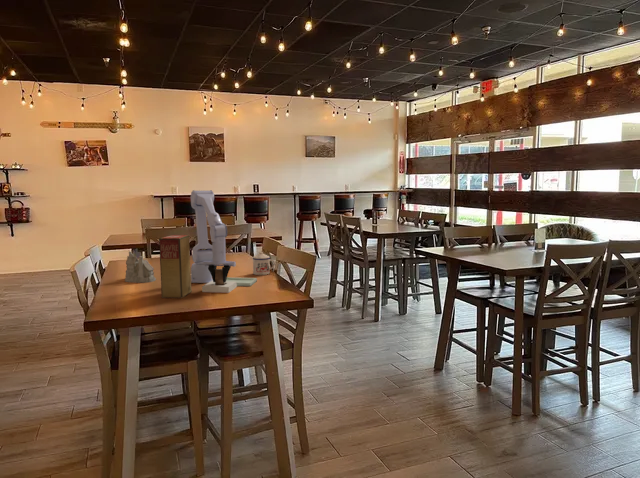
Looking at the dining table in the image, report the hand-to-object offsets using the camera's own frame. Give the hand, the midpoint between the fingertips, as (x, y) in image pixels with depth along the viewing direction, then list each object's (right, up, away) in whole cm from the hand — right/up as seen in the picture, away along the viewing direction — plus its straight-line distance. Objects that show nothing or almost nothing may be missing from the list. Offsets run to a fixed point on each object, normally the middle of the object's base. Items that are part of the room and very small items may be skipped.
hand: (219, 281), depth 211 cm
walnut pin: (0, -3, 0) cm, 3 cm away
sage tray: (+6, -2, +14) cm, 15 cm away
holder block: (0, -3, 0) cm, 3 cm away
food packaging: (-16, -5, -10) cm, 20 cm away
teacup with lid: (+15, +1, +39) cm, 42 cm away
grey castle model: (-43, -1, +22) cm, 49 cm away
